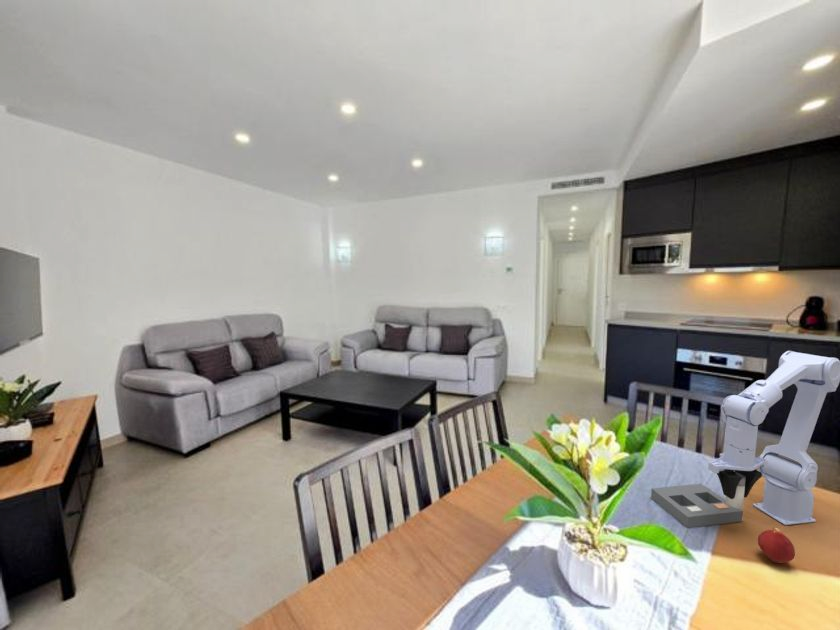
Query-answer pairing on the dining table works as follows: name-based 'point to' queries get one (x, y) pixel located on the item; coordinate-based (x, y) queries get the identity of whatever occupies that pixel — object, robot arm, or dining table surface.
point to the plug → (738, 494)
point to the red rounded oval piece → (776, 546)
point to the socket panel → (695, 505)
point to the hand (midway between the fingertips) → (734, 495)
